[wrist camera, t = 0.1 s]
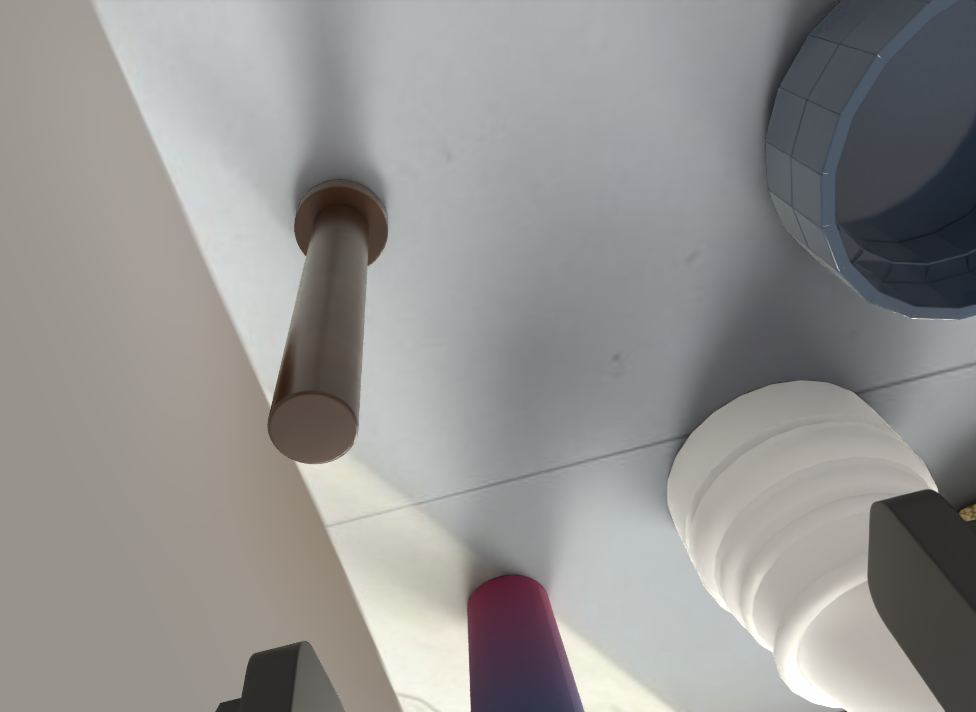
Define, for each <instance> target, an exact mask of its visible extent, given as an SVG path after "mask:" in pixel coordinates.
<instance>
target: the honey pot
mask: <svg viewBox="0 0 976 712" xmlns="http://www.w3.org/2000/svg"><path fill="white" fill-rule="evenodd" d="M924 489H932V490H934V491H936V492H937V493H938V488H937V486H936V484H935V482H934V480H933V479H932V477H931V475H930V473H929V471H928V469H927V467H926V466H925V464H924V462H923V460H922V459H921V458H920V457H919V456H917V455H916V454H915V453H914V452H913V451H912V449H911V448H910V447H909V446H908V445H907V444H905V442H904V440H903V439H902V438H901V437H900V436H899V435H898V434H897V433H896V432H895V431H894V430H893V429H892V428H891V427H890V426H889V425H888V424H887V423H886V422H885V421H884V420H883V419H882V418H881V417H880V416H879V415H878V414H877V413H876V412H875V411H874V410H873V409H872V408H871V406H869V405H868V404H867V403H866V402H864V401H863V400H862V399H861V398H860V397H858V396H857V395H856V394H855V393H854V392H852V391H849V390H847V389H844V388H842V387H839V386H836V385H834V384H831V383H827V382H815V381H804V380H799V381H792V382H785V383H779V384H772V385H768V386H765V387H763V388H760V389H757V390H755V391H752V392H749V393H747V394H744V395H741V396H739V397H738V398H736V399H734V400H733V401H731V402H729V403H728V404H726V405H725V406H723V407H721V408H720V409H718V410H717V411H715V412H713V413H712V414H711V415H710V416H709V417H708V418H707V419H706V420H705V421H704V422H703V423H702V424H701V425H700V426H699V427H697V428H696V429H695V430H694V431H693V432H692V433H691V434H690V436H689V437H688V439H687V440H686V442H685V443H684V445H683V446H682V448H681V449H680V451H679V452H678V454H677V455H676V457H675V460H674V463H673V466H672V469H671V472H670V475H669V478H668V481H667V505H668V507H669V510H670V513H671V516H672V519H673V522H674V524H675V527H676V529H677V531H678V533H679V535H680V537H681V539H682V542H683V544H684V546H685V548H686V550H687V552H688V554H689V557H690V559H691V561H692V563H693V564H694V566H695V569H696V571H697V572H698V574H699V575H700V578H701V581H702V584H703V585H704V587H705V588H706V589H707V590H708V592H709V593H710V594H711V595H712V596H713V598H714V599H715V600H716V601H717V602H718V603H719V605H720V606H721V607H722V608H723V609H725V610H727V611H728V612H730V613H732V614H733V615H734V616H735V617H736V618H737V620H738V621H739V622H740V623H741V624H742V625H743V627H745V628H747V630H748V631H749V632H750V633H751V634H752V636H753V637H754V638H755V639H756V640H757V642H758V643H759V644H760V645H761V646H763V647H765V648H767V649H768V650H770V651H772V652H773V656H774V660H775V663H776V667H777V670H778V674H779V676H780V677H781V678H782V680H783V681H784V682H785V683H786V684H787V685H788V687H789V688H790V689H791V690H792V691H793V692H794V693H796V694H798V695H800V696H801V697H803V698H805V699H807V700H809V701H811V702H813V703H816V704H820V705H825V706H829V707H834V708H843V709H845V710H846V711H848V712H945V711H944V709H943V708H942V706H941V705H940V703H939V702H938V701H937V699H936V698H935V696H934V695H933V693H932V692H931V690H930V689H929V688H928V686H927V685H926V683H925V682H924V680H923V679H922V677H921V676H920V675H919V673H918V672H917V670H916V669H915V667H914V666H913V664H912V663H911V662H910V660H909V659H908V657H907V656H906V654H905V653H904V651H903V650H902V649H901V647H900V646H899V644H898V643H897V641H896V640H895V638H894V637H893V636H892V634H891V633H890V631H889V630H888V628H887V627H886V625H885V624H884V622H883V621H882V619H881V617H880V616H879V614H878V612H877V610H876V608H875V605H874V603H873V600H872V597H871V594H870V590H869V586H868V580H867V570H868V544H869V519H870V508H871V505H872V504H873V503H874V502H876V501H880V500H884V499H888V498H892V497H896V496H900V495H904V494H908V493H912V492H916V491H920V490H924Z"/></svg>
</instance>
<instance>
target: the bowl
mask: <svg viewBox="0 0 976 712" xmlns="http://www.w3.org/2000/svg"><path fill="white" fill-rule="evenodd" d="M765 140H766V141H765V148H766V171H767V188H768V192H769V194H770V197H771V199H772V202H773V204H774V206H775V209H776V211H777V214H778V216H779V218H780V221H781V223H782V226H783V227H784V229H785V230H786V231H787V232H788V233H789V234H790V235H791V236H792V237H793V238H794V239H795V240H796V241H797V242H798V243H799V244H800V245H801V246H802V247H803V248H804V249H805V250H806V251H807V252H808V253H809V254H810V255H811V256H812V257H813V258H815V259H816V260H817V261H818V262H820V263H821V264H822V265H823V266H824V267H826V268H827V269H828V270H829V271H831V272H832V273H833V274H834V275H835V276H837V277H838V278H839V279H840V280H842V281H843V282H844V283H845V284H846V285H848V286H849V287H850V288H851V289H853V290H854V291H855V292H856V293H857V294H859V295H860V296H861V297H862V298H864V299H865V300H866V301H868V302H869V303H871V304H874V305H876V306H879V307H881V308H884V309H886V310H889V311H891V312H894V313H896V314H899V315H901V316H904V317H906V318H910V319H935V320H960V319H964V318H968V317H972V316H976V0H841V1H840V2H839V3H838V4H837V5H836V6H835V7H834V8H833V9H832V10H831V11H830V12H829V13H828V14H827V16H826V17H825V18H824V19H823V20H822V21H821V22H820V23H819V24H818V25H817V26H816V27H815V28H814V29H813V30H812V31H811V32H810V34H809V35H808V36H807V38H806V40H805V42H804V43H803V45H802V47H801V49H800V50H799V52H798V54H797V56H796V58H795V59H794V61H793V63H792V65H791V66H790V68H789V70H788V72H787V73H786V75H785V77H784V79H783V80H782V82H781V84H780V87H779V88H778V92H777V95H776V99H775V103H774V107H773V111H772V115H771V118H770V122H769V126H768V130H767V134H766V138H765Z"/></svg>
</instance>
